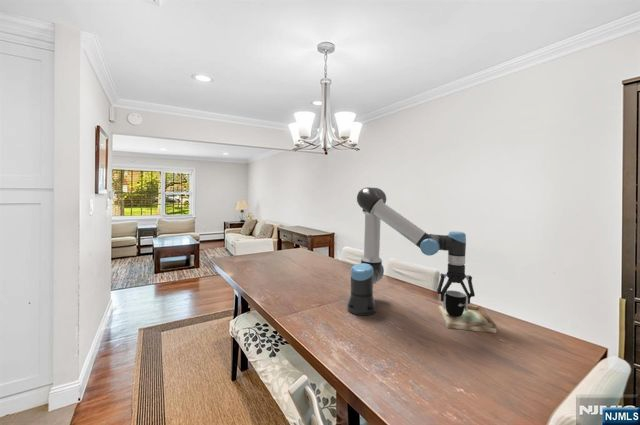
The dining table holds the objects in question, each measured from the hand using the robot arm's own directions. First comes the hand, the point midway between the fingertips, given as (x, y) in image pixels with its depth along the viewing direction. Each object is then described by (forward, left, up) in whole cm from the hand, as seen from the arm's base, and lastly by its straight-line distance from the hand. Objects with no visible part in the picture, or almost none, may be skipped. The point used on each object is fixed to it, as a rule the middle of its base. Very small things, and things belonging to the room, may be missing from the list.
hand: (454, 308), depth 133 cm
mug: (+1, 0, -2) cm, 2 cm away
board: (+5, 0, -5) cm, 7 cm away
